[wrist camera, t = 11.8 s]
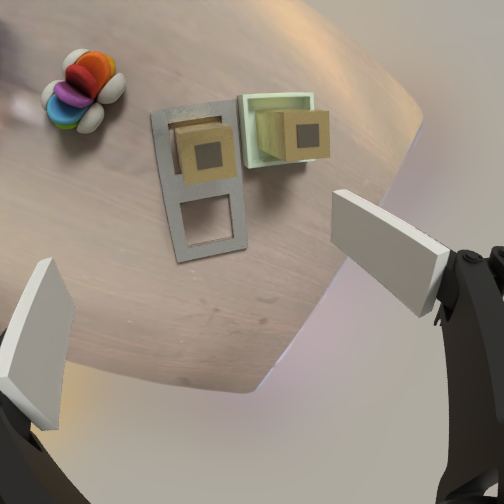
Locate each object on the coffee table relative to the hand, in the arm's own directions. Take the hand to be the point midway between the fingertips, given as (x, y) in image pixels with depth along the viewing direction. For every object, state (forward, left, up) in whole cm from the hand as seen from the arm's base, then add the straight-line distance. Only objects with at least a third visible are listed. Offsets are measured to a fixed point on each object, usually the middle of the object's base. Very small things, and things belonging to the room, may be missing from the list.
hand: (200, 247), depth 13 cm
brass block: (+13, +2, -25) cm, 28 cm away
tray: (+13, +2, -25) cm, 28 cm away
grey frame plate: (+3, -4, -25) cm, 25 cm away
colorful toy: (-9, +10, -25) cm, 29 cm away
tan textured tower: (+3, +1, -25) cm, 25 cm away
